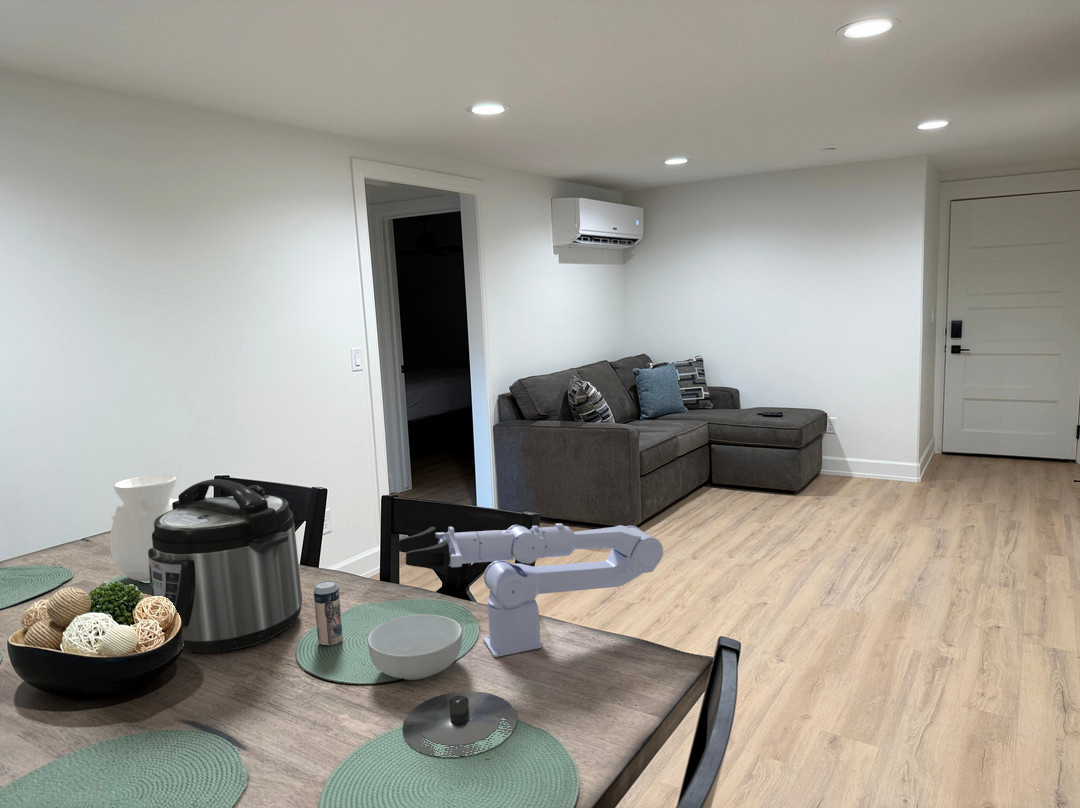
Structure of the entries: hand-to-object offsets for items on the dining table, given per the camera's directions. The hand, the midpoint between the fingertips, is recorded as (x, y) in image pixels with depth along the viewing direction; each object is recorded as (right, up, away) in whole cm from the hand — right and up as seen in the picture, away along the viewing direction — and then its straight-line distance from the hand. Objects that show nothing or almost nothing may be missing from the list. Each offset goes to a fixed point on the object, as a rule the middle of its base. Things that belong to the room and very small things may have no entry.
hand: (402, 551), depth 134 cm
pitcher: (-72, -17, +53) cm, 91 cm away
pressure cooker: (-39, -21, +22) cm, 49 cm away
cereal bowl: (+3, -22, +2) cm, 22 cm away
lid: (+12, -24, -16) cm, 31 cm away
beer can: (-17, -21, +14) cm, 30 cm away
